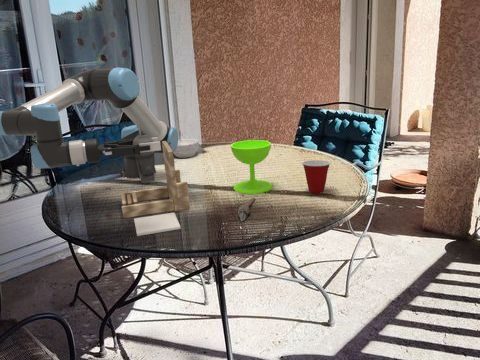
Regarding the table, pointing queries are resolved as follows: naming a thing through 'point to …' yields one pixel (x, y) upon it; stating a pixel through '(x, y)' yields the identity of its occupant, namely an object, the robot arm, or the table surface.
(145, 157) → the beverage cup
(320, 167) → the plastic cup
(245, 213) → the natural artifact
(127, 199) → the plywood offcuts
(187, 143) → the paper bowls
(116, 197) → the table surface
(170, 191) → the pine rack
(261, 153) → the wineglass
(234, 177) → the table surface
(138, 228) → the white tile
